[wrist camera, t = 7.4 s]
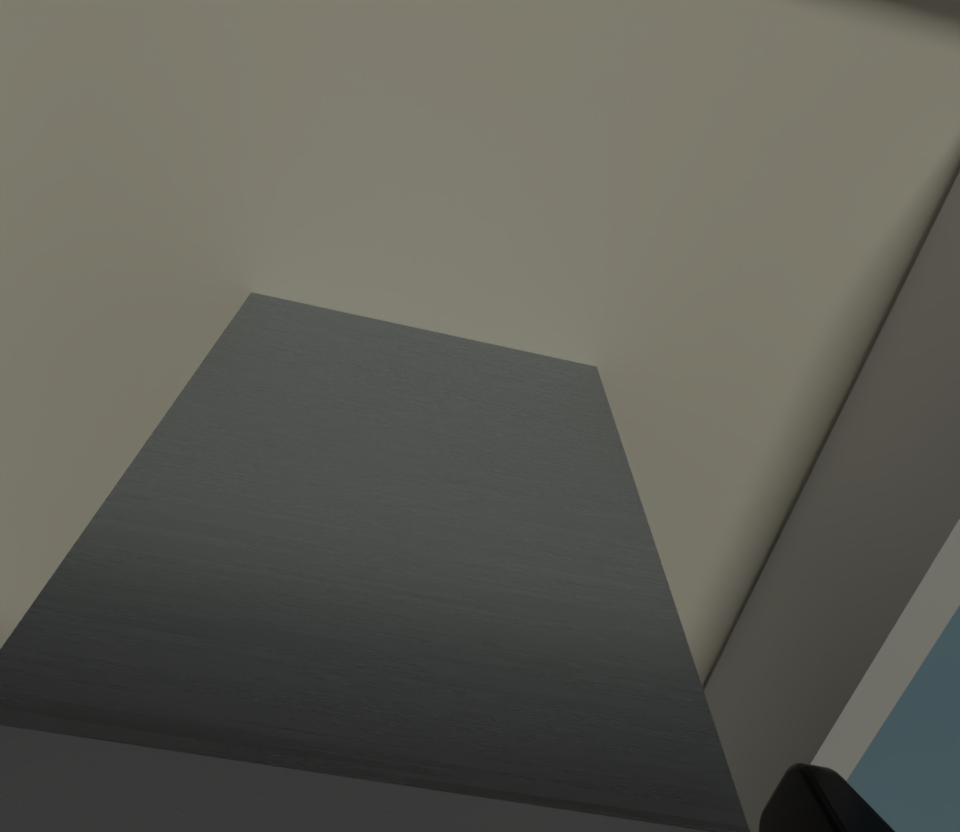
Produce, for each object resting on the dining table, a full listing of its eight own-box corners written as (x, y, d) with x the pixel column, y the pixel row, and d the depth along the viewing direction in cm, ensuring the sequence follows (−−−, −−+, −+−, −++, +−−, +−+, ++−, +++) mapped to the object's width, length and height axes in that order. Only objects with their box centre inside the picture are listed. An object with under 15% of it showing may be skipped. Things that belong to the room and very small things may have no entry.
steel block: (596, 367, 10) (752, 837, 4) (477, 725, 12) (485, 1287, 7) (251, 291, 9) (-49, 719, 4) (206, 681, 12) (-6, 1247, 7)
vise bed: (1472, -22, 9) (2020, -23, 6) (791, 953, 17) (864, 1171, 14) (-532, -650, 7) (-1426, -1216, 3) (-210, 819, 15) (-392, 1044, 12)
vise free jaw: (1231, 130, 8) (1504, 184, 6) (727, 935, 15) (773, 1104, 12) (1009, 69, 8) (1212, 104, 6) (591, 916, 14) (614, 1086, 12)
